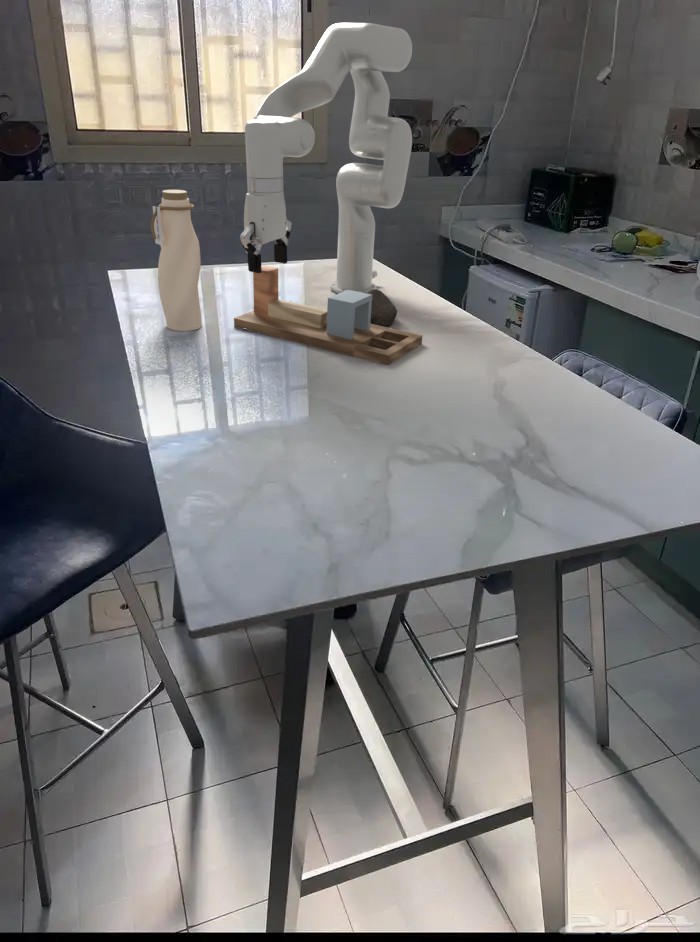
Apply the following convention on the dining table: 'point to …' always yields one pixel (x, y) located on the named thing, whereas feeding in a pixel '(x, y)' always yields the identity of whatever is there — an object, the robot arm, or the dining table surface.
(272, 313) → the l-shaped wooden block
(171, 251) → the water bottle
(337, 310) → the tunnel
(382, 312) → the stone
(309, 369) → the dining table surface
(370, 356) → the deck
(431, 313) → the dining table surface
